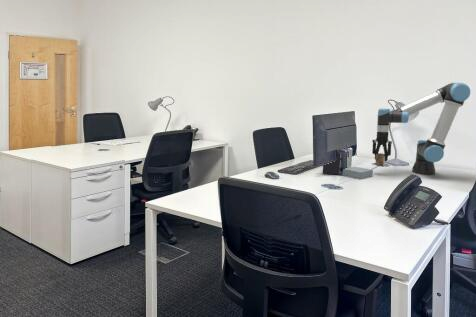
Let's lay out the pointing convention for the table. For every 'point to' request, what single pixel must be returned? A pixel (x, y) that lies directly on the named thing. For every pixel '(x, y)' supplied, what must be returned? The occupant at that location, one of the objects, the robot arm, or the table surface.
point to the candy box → (349, 157)
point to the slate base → (357, 172)
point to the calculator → (333, 166)
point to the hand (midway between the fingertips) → (380, 164)
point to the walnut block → (379, 159)
